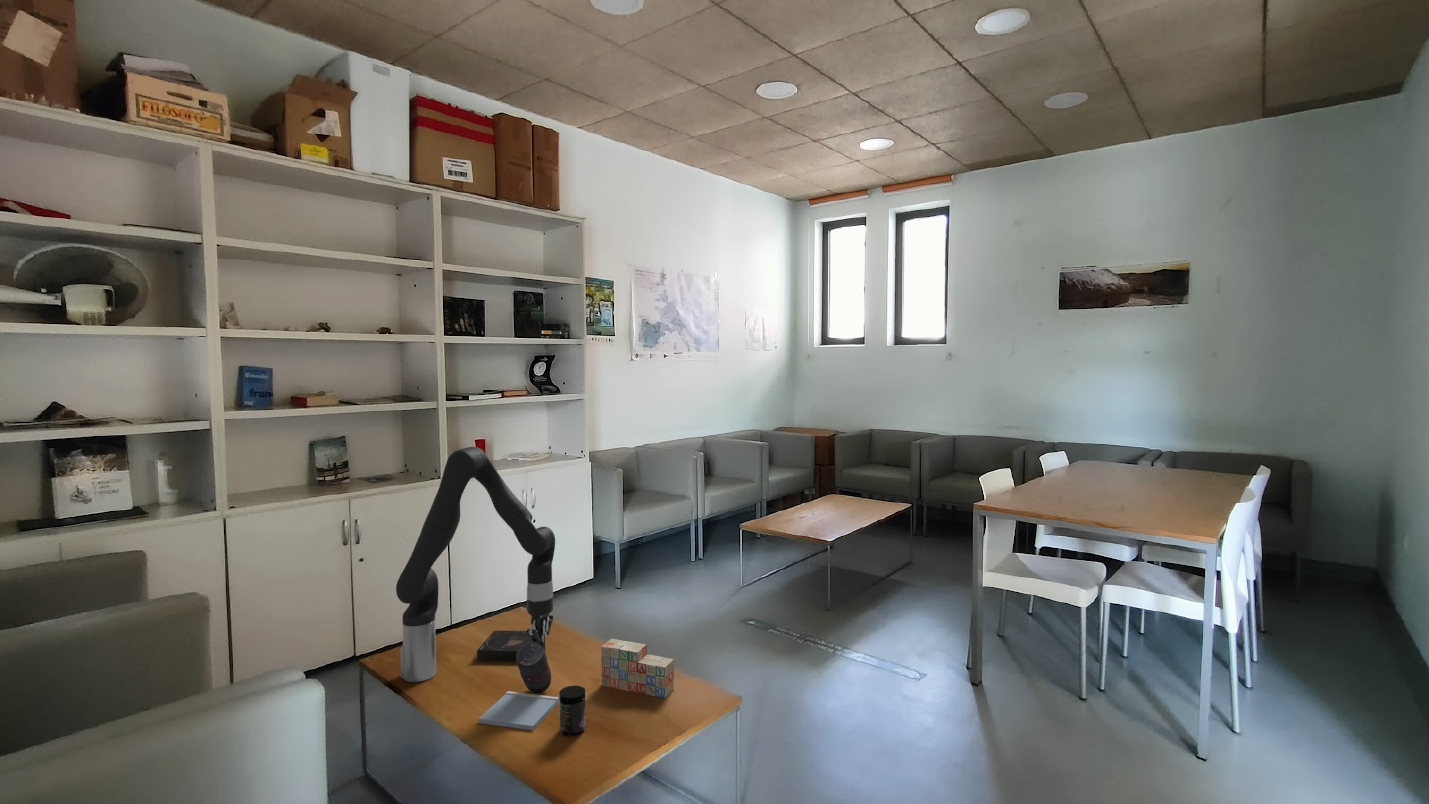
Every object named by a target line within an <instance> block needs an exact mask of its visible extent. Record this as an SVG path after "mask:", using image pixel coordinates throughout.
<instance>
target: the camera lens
mask: <svg viewBox="0 0 1429 804" xmlns="http://www.w3.org/2000/svg"><path fill="white" fill-rule="evenodd" d="M516 664H517V667H518V670H519V674H520V677H521V679H522V681H523V684H524V685H525V687H526V689H527V690H528V691H529V692H531V693H532V694H541V693H544V692H545V691H547V689H548V688H550V686H551V682H552V674H551V673H552V671H551V667H550V666H549V662H548V658H547V654H546V649H545V650H544V648H543V647H542V646H541V645H540V644H539V643H536V642H530V643H527V644H524V645H523V646H522V647H520V649H519V650H518V652H517V655H516Z"/></svg>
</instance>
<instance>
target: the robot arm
mask: <svg viewBox="0 0 1429 804" xmlns="http://www.w3.org/2000/svg"><path fill="white" fill-rule="evenodd" d="M471 479H475V480H476V481H477V482H478V483H480V485H482V486H483V488H484V489H485V490H486V492H487V494H488V496H489V497H490V501H491V503H492V505H493V507H494V510H495V511H496V513H497V515H498V516H499V517H500V518H501V520H503V521H504V522H505V523H506V525H507V526H508V527H509V528H510V529H511V530H512V532H513V533H514V534H513V535H514V536H515V537H516V539H517V541H518V543H519V544H520V546H521V548H523V550H524V551H525V552H526V553H527V554H528V555H529V554H530V555H532V557H531V560H530V561H529V562H528V565H527V574H526V575H527V576H526V577H527V586H526V612H527V613H528V615H530V616H531V619H530V624H531V625H530V628H527V629H526V631H527V634H528V636H529V638H530V639H531V641H532V642H536V643H539V644H540V645H541V646H542V647H543V648H544V650H545V651H546V640H547V636H549V635H550V631H551V628H552V625H553V621H554V615H552V614H551V613H552V612H553V611H554V585H553V561H554V556H555V555H554V554H555V548H556V537H555V534H554V532H553V530H552V529H551V528H550V527H548V526H539V527H538V528H536V526H535V525H534V524H533V515H532V513H531V512H530V510H529V509H528V508H527V507H526V505H524V504H523V502H522V501H521V500H519V498H518V497H517V496H516V495H515V494H514V493H513V491H512V490H511V489H510V488H509V486H508V485H507V483H506V482H505V481H504V479H503V478H502V477H501V475H500V474H499V472H498V471H497V469H496V468H495V466H494V464H493V462H492V461H491V459H490V458H489V457H488V455H487V454H486V452H484V450H483V449H481V448H479V447H477V446H467V447H465V448H460V449H457V450H454V451H453V452H452V453H451V454H450V455H449V457H448V458H447V460H446V463H445V467H444V469H443V472H442V477H441V480H440V483H439V486H438V490H437V492H436V494H435V497H434V500H433V502H432V504H431V507H430V509H429V511H428V513H427V515H426V518H425V520H424V522H423V525H422V528H421V531H420V534H419V536H418V538H417V540H416V543H415V546H414V548H413V550H412V553H411V554H410V557H409V559H408V561H407V563H406V565H405V566H404V569H403V570H402V572H401V573H400V575H399V576H398V577H399V578H398V579H397V582H396V586H395V592H396V597H397V598H398V600H399V601H400V602H401V603H403V604H407V605H408V604H409V605H408V607H407V608H406V609H405V611H404V612H403V614H402V646H401V647H400V650H399V656H400V658H399V659H400V679H403V680H404V681H405V682H409V683H420V682H425V681H427V680H430V679H432V678H433V677H434V676H436V675H437V646H436V645H437V644H436V643H437V642H436V641H437V638H436V613H437V611H438V607H439V578H438V575H437V573H436V571H435V570H433V569H432V567H433V565H434V564H435V562H436V561H437V560H438V559H439V558H440V556H441V555H442V554H443V552H444V551H445V550H446V548H447V547H448V546H449V545H450V543H451V542H452V540H453V538H454V536H455V533H456V531H457V529H458V526H459V524H460V521H461V499H462V496H463V493H464V492H465V489H466V487H467V485H468V483H469V482H470V480H471Z"/></svg>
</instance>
